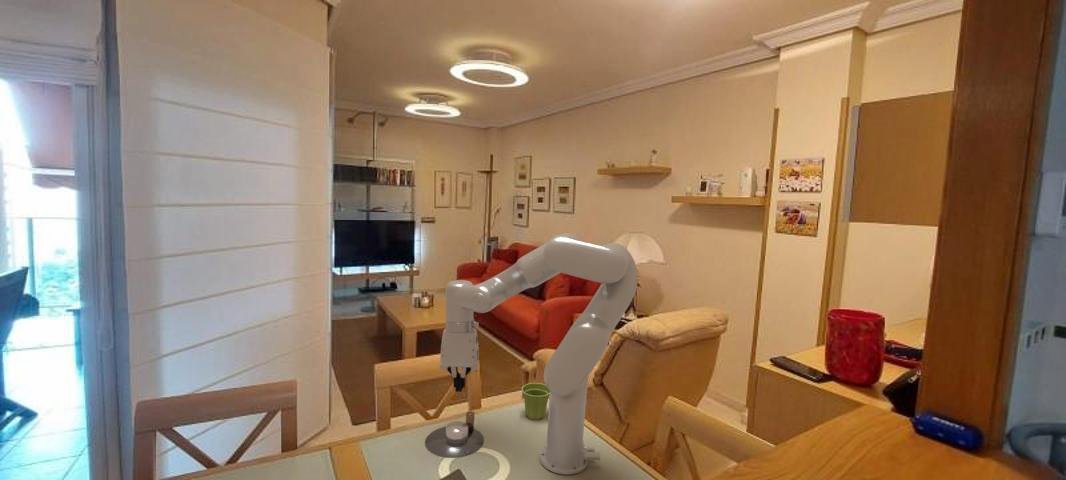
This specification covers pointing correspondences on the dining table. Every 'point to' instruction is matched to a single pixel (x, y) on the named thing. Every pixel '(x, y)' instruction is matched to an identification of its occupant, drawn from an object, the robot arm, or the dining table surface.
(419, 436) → the dining table surface
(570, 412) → the robot arm
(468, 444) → the turntable
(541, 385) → the plant pot
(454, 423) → the cover
